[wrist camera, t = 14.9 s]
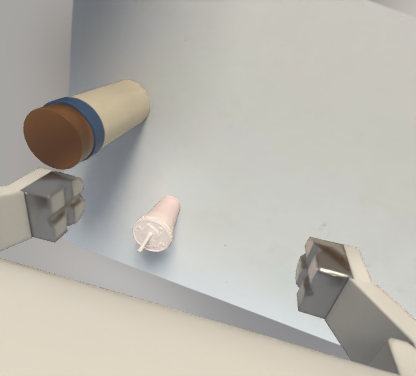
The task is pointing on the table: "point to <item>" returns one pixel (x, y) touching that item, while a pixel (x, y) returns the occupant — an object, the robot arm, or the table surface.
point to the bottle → (110, 110)
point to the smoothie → (157, 225)
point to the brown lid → (58, 135)
